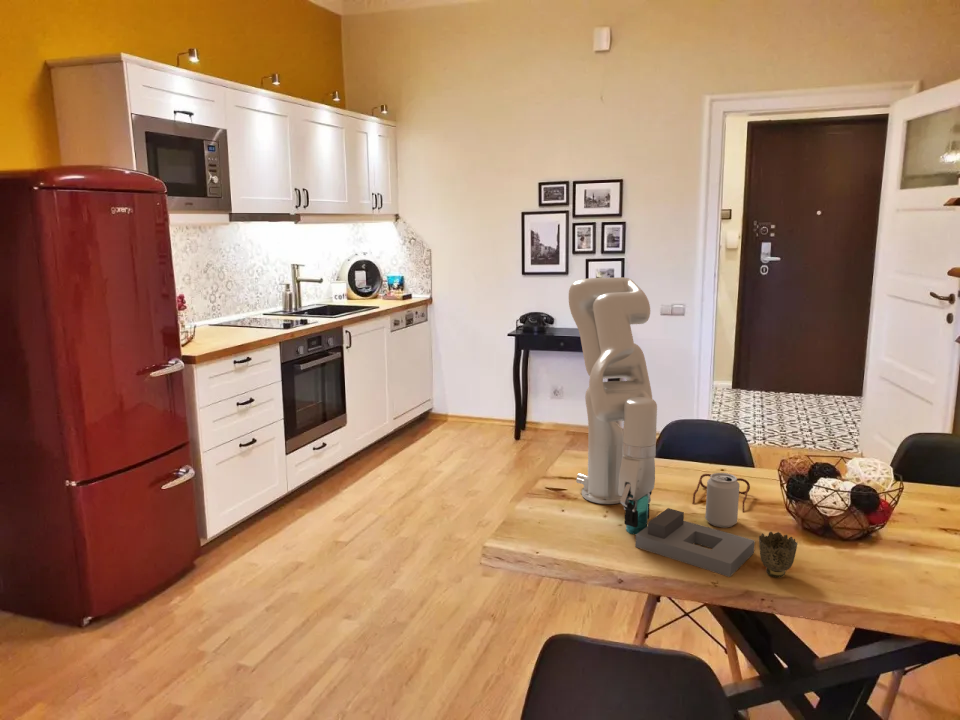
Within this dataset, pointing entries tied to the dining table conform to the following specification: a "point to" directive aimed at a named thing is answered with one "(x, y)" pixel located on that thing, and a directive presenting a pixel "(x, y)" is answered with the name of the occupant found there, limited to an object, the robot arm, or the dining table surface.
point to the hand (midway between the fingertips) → (636, 520)
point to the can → (722, 500)
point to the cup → (777, 553)
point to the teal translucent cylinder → (640, 515)
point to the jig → (678, 541)
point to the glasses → (737, 480)
